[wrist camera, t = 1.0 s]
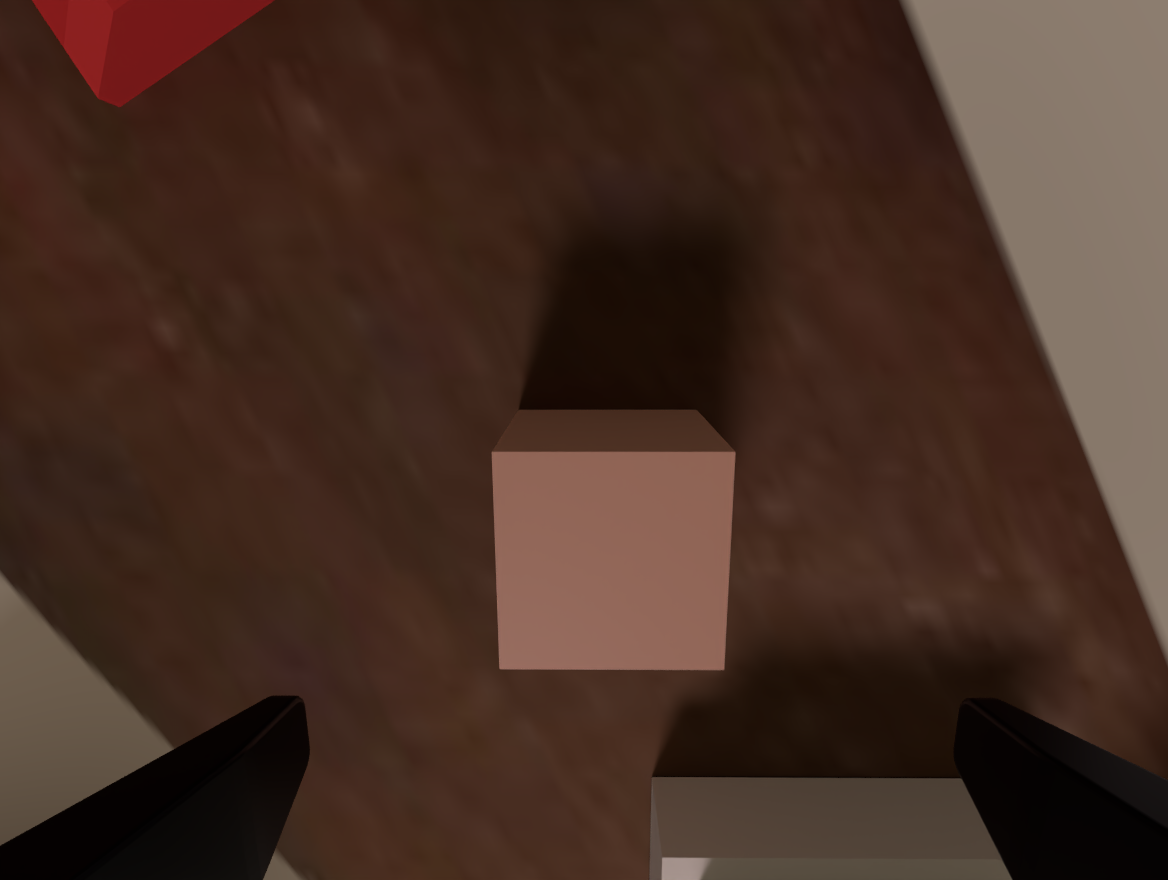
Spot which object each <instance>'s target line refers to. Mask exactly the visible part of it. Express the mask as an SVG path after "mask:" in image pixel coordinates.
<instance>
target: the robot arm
mask: <svg viewBox="0 0 1168 880" xmlns="http://www.w3.org/2000/svg"><path fill="white" fill-rule="evenodd" d="M309 755H310V745H309V736H308V728H307V719H306V710H305V704H304V702H303V699H302V698H300V697H299V696H270V697H267V698H266V699H264V700H262V701H260V702H258V703H257V704H255V705H253V706H251V707H249V708H248V709H246V710H244V711H242V712H240V713H239V714H237V715H235V716H233V717H231V718H230V719H228V720H226V721H224V722H222V723H221V724H219V725H217V726H215V727H213V728H211V729H210V730H208V731H206V732H204V733H202V734H201V735H199V736H197V737H195V738H193V739H192V740H190V741H188V742H186V743H184V744H183V745H181V746H179V747H177V748H175V749H174V750H172V751H170V752H168V753H167V754H165V755H163V756H161V757H159V758H157V759H156V760H154V761H152V762H150V763H149V764H147V765H145V766H143V767H141V768H139V769H138V770H136V771H134V772H132V773H130V774H129V775H127V776H125V777H124V778H121V779H120V780H118V781H116V782H114V783H112V784H111V785H109V786H107V787H105V788H103V789H102V790H100V791H98V792H96V793H94V794H92V795H91V796H89V797H87V798H85V799H83V800H82V801H80V802H78V803H76V804H75V805H73V806H71V807H69V808H67V809H65V810H64V811H62V812H60V813H58V814H56V815H55V816H53V817H51V818H49V819H47V820H46V821H44V822H42V823H40V824H39V825H37V826H35V827H33V828H31V829H29V830H28V831H26V832H24V833H22V834H20V835H19V836H17V837H15V838H13V839H11V840H10V841H8V842H6V843H4V844H2V845H1V846H0V880H263V878H264V876H265V873H266V871H267V868H268V866H269V864H270V861H271V859H272V856H273V853H274V851H275V848H276V846H277V843H278V840H279V838H280V835H281V833H282V830H283V827H284V825H285V822H286V820H287V817H288V815H289V812H290V809H291V807H292V804H293V802H294V799H295V796H296V794H297V791H298V789H299V786H300V784H301V781H302V778H303V776H304V773H305V771H306V768H307V765H308V761H309ZM954 761H955V765H956V768H957V770H958V773H959V775H960V777H961V779H962V781H963V783H964V785H965V787H966V789H967V791H968V793H969V795H970V797H971V799H972V801H973V803H974V805H975V807H976V809H977V811H978V813H979V815H980V817H981V819H982V821H983V823H984V825H985V827H986V829H987V831H988V833H989V835H990V837H991V839H992V841H993V843H994V845H995V847H996V849H997V851H998V853H999V855H1000V857H1001V859H1002V861H1003V863H1004V865H1005V867H1006V869H1007V871H1008V873H1009V875H1010V877H1011V878H1012V880H1168V780H1166V779H1164V778H1162V777H1160V776H1158V775H1156V774H1154V773H1152V772H1150V771H1147V770H1145V769H1143V768H1141V767H1139V766H1137V765H1135V764H1133V763H1131V762H1129V761H1127V760H1125V759H1122V758H1120V757H1118V756H1116V755H1114V754H1112V753H1110V752H1108V751H1106V750H1104V749H1102V748H1099V747H1097V746H1095V745H1093V744H1091V743H1089V742H1087V741H1085V740H1083V739H1081V738H1079V737H1077V736H1074V735H1072V734H1070V733H1068V732H1066V731H1064V730H1062V729H1060V728H1058V727H1056V726H1054V725H1052V724H1049V723H1047V722H1045V721H1043V720H1041V719H1039V718H1037V717H1035V716H1033V715H1031V714H1029V713H1026V712H1024V711H1022V710H1020V709H1018V708H1016V707H1014V706H1012V705H1010V704H1008V703H1006V702H1004V701H1001V700H999V699H996V698H967V699H965V700H964V701H962V703H961V705H960V708H959V714H958V721H957V728H956V735H955V742H954Z"/></svg>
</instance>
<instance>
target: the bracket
mask: <svg viewBox="0 0 1168 880" xmlns="http://www.w3.org/2000/svg"><path fill="white" fill-rule="evenodd" d="M32 1H33V3H34V4H35V6H36V7H37V9H38V10H39V12H40V13H41V15H42V16H43V18H44V19H45V20H46V22H47V23H48V25H49V26H50V28H51V29H52V31H53V32H54V34H55V35H56V37H57V38H58V40H59V41H60V43H61V44H62V46H63V47H64V49H65V50H66V52H67V53H68V55H69V56H70V58H71V59H72V61H73V62H74V64H75V65H76V67H77V68H78V70H79V71H80V73H81V74H82V76H83V77H84V79H85V80H86V81H87V83H88V84H89V86H90V87H91V89H92V90H93V92H94V93H95V95H96V96H97V98H98V99H101V100H103V101H106V102H108V103H110V104H113V105H115V106H118V107H121V106H122V105H124V104H125V103H127V102H128V101H130V100H131V99H132V98H134V97H135V96H137V95H138V94H140V93H141V92H143V91H144V90H145V89H147V88H148V87H150V86H151V85H153V84H154V83H156V82H157V81H158V80H160V79H161V78H163V77H164V76H166V75H167V74H169V73H170V72H171V71H173V70H174V69H176V68H177V67H179V66H180V65H182V64H183V63H184V62H186V61H187V60H189V59H190V58H192V57H193V56H195V55H196V54H197V53H199V52H200V51H202V50H203V49H205V48H206V47H208V46H209V45H210V44H212V43H213V42H215V41H216V40H218V39H219V38H221V37H222V36H223V35H225V34H226V33H228V32H229V31H231V30H232V29H234V28H235V27H237V26H238V25H239V24H241V23H242V22H244V21H245V20H247V19H248V18H250V17H251V16H252V15H254V14H255V13H257V12H258V11H260V10H261V9H263V8H264V7H265V6H267V5H268V4H270V3H271V2H273V1H274V0H32Z"/></svg>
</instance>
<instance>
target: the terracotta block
mask: <svg viewBox="0 0 1168 880" xmlns="http://www.w3.org/2000/svg"><path fill="white" fill-rule="evenodd" d="M734 470H735V451H734V450H733V449H732V448H731V446H730V445H729V444H728V443H727V442H726V441H725V440H724V439H723V438H722V437H721V436H720V435H719V433H718V432H717V431H716V430H715V429H714V428H713V427H712V426H711V425H710V424H709V423H708V422H707V420H706V419H705V418H704V417H703V416H702V415H701V414H700V413H699V412H698V411H697V410H518V411H517V413H516V414H515V416H514V418H513V419H512V421H511V422H510V424H509V425H508V427H507V429H506V430H505V432H504V433H503V435H502V437H501V438H500V440H499V441H498V443H497V444H496V446H495V448H494V449H493V451H492V471H493V499H494V526H495V554H496V582H497V610H498V638H499V665H500V669H583V670H724V662H725V643H726V624H727V605H728V586H729V566H730V547H731V528H732V509H733V489H734Z"/></svg>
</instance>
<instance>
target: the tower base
mask: <svg viewBox="0 0 1168 880" xmlns="http://www.w3.org/2000/svg"><path fill="white" fill-rule="evenodd" d="M649 880H1012V878H1011V877H1010V875H1009V873H1008V871H1007V869H1006V867H1005V865H1004V863H1003V861H1002V859H1001V857H1000V855H999V853H998V851H997V849H996V847H995V845H994V843H993V841H992V839H991V837H990V835H989V833H988V831H987V829H986V827H985V825H984V823H983V821H982V819H981V817H980V815H979V813H978V811H977V809H976V807H975V805H974V803H973V801H972V799H971V797H970V795H969V793H968V791H967V789H966V787H965V785H964V783H963V781H962V779H961V778H748V777H652V794H651V835H650V875H649Z"/></svg>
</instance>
